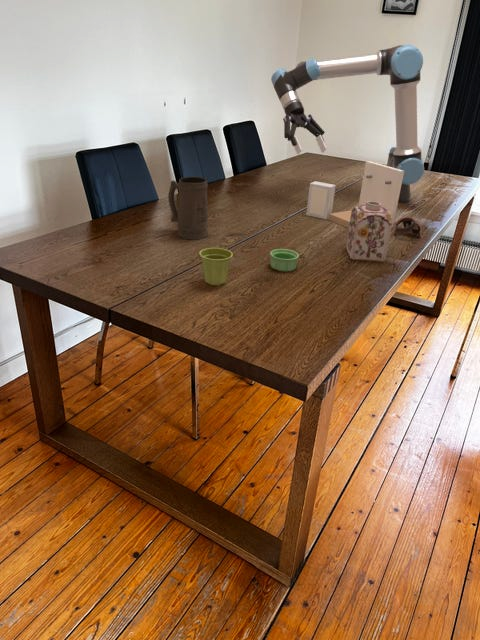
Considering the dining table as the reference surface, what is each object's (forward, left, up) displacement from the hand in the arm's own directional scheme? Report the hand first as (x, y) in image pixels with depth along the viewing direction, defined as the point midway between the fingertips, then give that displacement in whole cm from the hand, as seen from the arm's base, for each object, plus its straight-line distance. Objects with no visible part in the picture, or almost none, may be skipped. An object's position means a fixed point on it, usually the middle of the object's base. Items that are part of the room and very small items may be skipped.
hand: (312, 151), depth 208 cm
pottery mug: (-15, +42, -24) cm, 51 cm away
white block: (0, +9, -24) cm, 26 cm away
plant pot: (+72, +46, -24) cm, 89 cm away
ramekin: (+47, +46, -24) cm, 70 cm away
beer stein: (+60, +6, -24) cm, 65 cm away
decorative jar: (+15, +50, -24) cm, 57 cm away
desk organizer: (-9, +24, -24) cm, 35 cm away
